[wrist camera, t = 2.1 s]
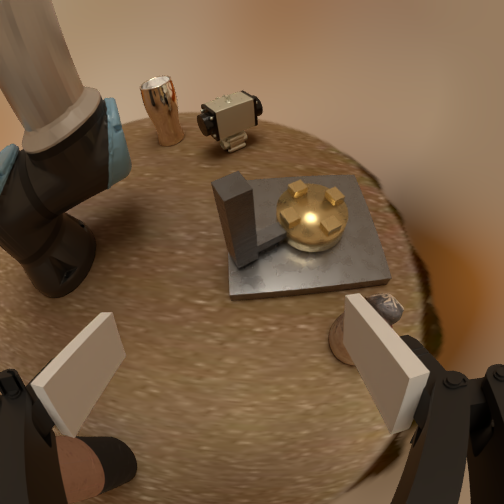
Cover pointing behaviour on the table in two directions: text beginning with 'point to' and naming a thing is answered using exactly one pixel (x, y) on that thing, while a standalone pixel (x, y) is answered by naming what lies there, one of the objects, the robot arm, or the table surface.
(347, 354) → the figurine
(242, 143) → the pneumatic valve
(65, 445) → the travel mug
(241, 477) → the table surface
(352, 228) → the base plate
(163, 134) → the beer glass
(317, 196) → the metal fixture
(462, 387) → the robot arm
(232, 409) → the table surface
